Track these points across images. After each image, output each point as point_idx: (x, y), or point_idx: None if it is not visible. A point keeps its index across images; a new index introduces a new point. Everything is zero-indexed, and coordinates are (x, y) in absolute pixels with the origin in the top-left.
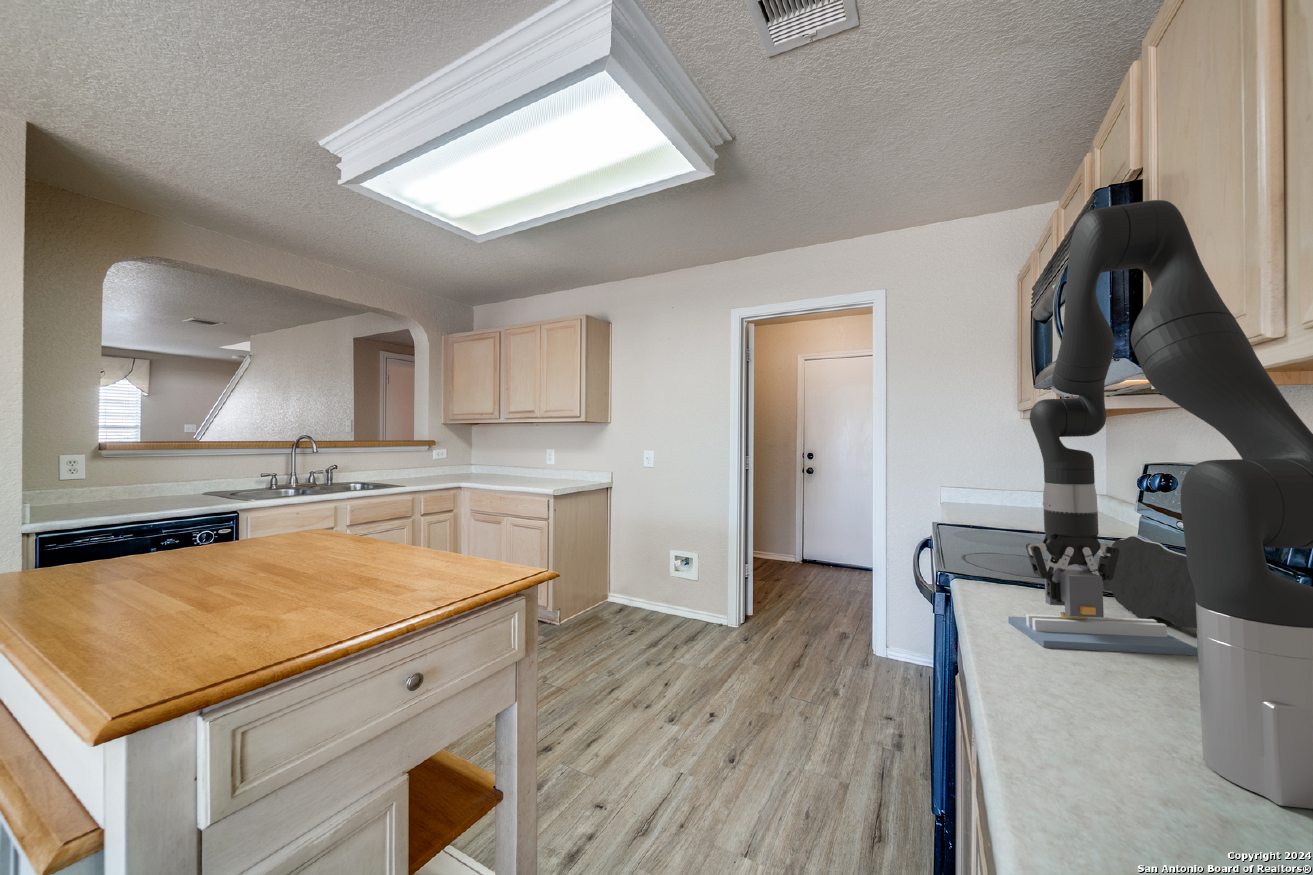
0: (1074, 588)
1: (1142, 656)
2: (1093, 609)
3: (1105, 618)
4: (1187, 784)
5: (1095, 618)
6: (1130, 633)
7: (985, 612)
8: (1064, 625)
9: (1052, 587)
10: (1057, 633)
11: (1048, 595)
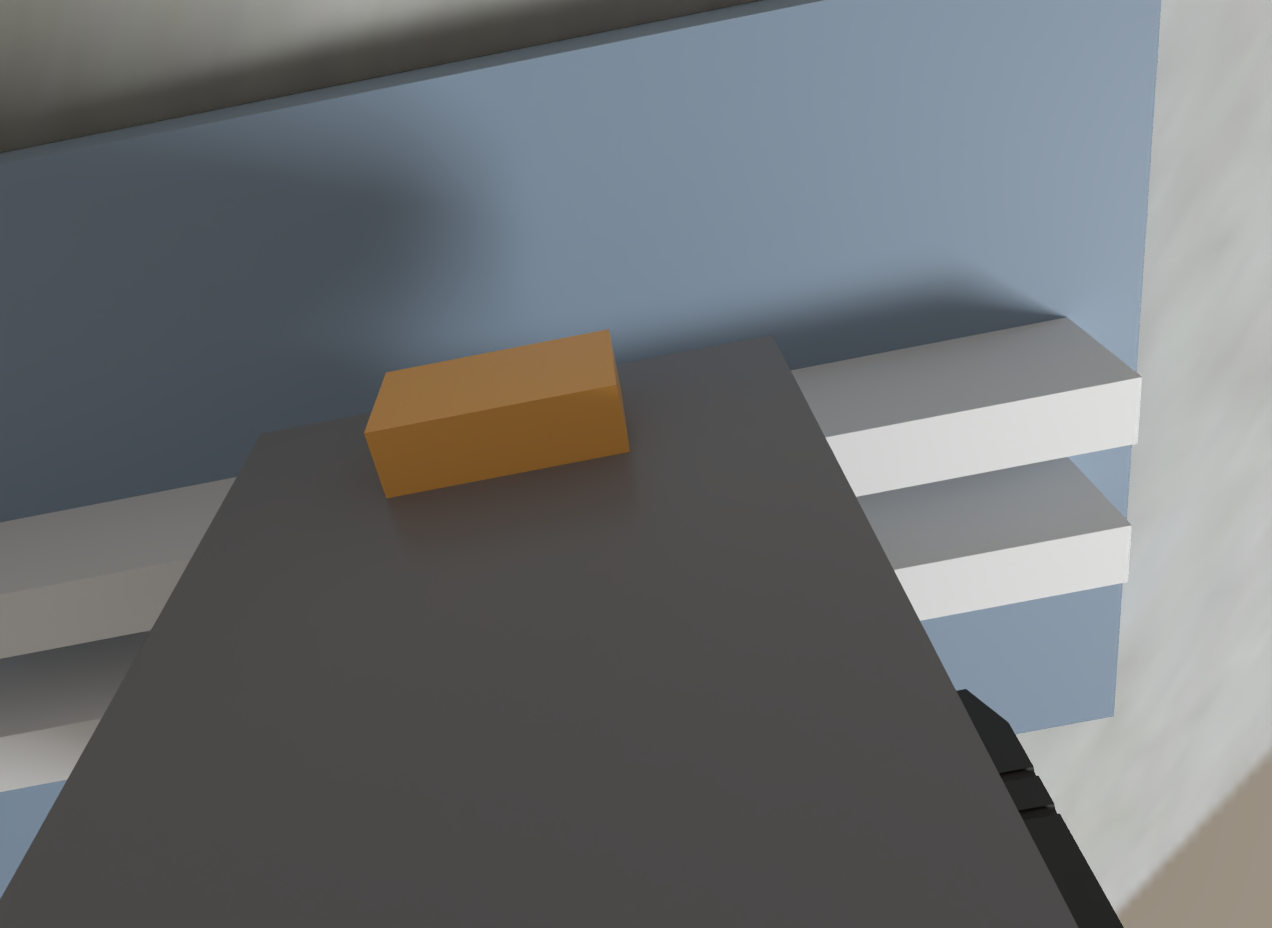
0: (798, 686)
1: (8, 6)
2: (408, 410)
3: None
4: None
5: None
6: (4, 529)
7: (1152, 865)
8: None
9: (1060, 880)
10: (837, 307)
11: None
